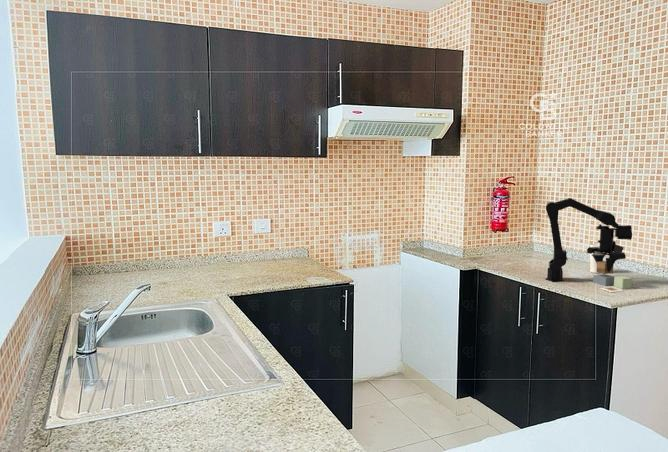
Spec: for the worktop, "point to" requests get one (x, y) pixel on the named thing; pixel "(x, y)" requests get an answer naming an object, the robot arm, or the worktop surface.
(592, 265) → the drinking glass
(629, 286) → the sage block
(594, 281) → the slate base block
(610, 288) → the card
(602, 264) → the walnut block
